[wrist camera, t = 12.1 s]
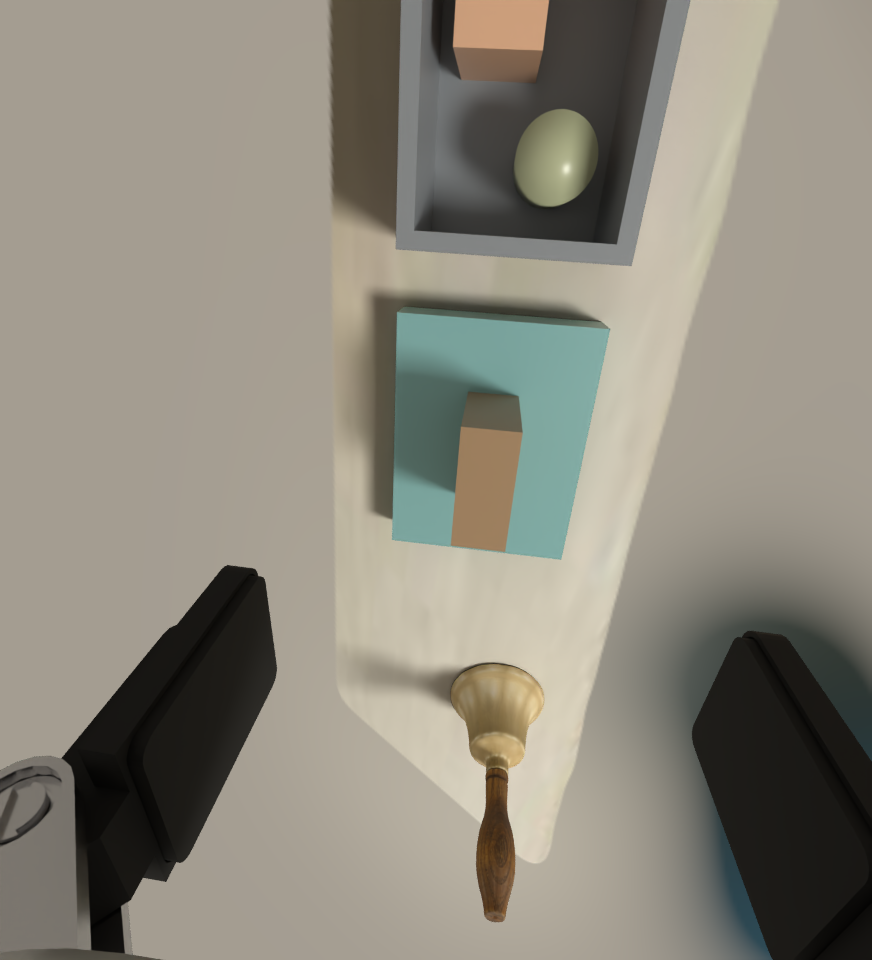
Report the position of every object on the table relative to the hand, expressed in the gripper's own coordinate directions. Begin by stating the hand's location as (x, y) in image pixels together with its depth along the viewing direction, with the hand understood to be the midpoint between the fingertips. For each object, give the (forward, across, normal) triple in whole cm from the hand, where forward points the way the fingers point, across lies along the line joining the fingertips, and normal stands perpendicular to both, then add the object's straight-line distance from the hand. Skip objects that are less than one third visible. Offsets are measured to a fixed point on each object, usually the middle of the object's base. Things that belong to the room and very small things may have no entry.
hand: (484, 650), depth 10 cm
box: (+24, 0, -13) cm, 27 cm away
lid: (+24, 0, +5) cm, 24 cm away
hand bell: (+23, -4, +30) cm, 38 cm away
